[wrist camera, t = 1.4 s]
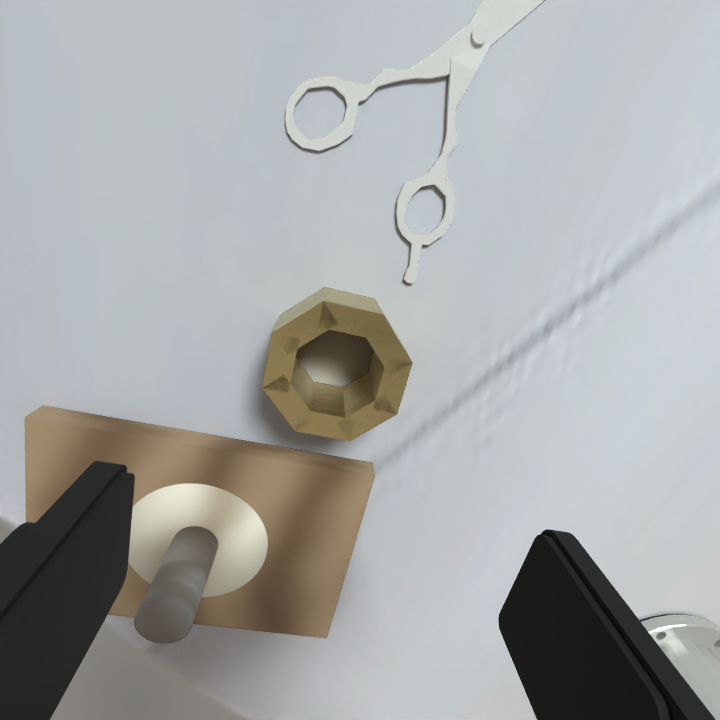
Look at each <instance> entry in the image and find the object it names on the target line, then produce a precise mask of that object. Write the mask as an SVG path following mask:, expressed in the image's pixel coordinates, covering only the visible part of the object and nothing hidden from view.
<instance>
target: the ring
mask: <svg viewBox="0 0 720 720" xmlns="http://www.w3.org/2000/svg"><path fill="white" fill-rule="evenodd" d="M327 330H333V331H338V332H342V333H347V334H352V335H356V336H361V337H365V338H366V339H367V340H368V342H369V343H370V345H371V347H372V348H373V350H374V354H373V358H372V362H371V365H370V369H369V372H368V373H367V374H365V375H363V376H362V377H360V378H358V379H356V380H355V381H353V382H351V383H350V384H348V385H346V386H345V387H338V386H333V385H328V384H323V383H318V382H313V380H312V379H311V377H310V376H309V375H308V373H307V372H306V370H305V369H304V368H303V366H302V365H301V363H300V362H299V361H298V359H297V358H296V357H297V352H298V348H300V347H301V346H303V345H305V344H306V343H308V342H309V341H311V340H313V339H314V338H316V337H318V336H319V335H321V334H323V333H324V332H326V331H327ZM411 366H412V361H411V359H410V357H409V356H408V354H407V352H406V350H405V349H404V347H403V345H402V343H401V342H400V340H399V338H398V337H397V335H396V333H395V332H394V330H393V328H392V327H391V325H390V323H389V322H388V320H387V318H386V317H385V315H384V313H383V312H382V310H381V308H380V307H379V305H378V303H377V302H376V300H375V299H374V298H370V297H365V296H361V295H357V294H352V293H348V292H344V291H339V290H335V289H331V288H327V287H324V288H322V289H321V290H319V291H318V292H316V293H314V294H313V295H311V296H310V297H308V298H306V299H305V300H303V301H302V302H300V303H299V304H297V305H295V306H294V307H292V308H291V309H289V310H287V311H286V312H284V313H283V314H281V316H280V318H279V320H278V322H277V324H276V326H275V328H274V330H273V332H272V336H271V341H270V346H269V352H268V357H267V363H266V368H265V374H264V379H263V385H262V389H263V390H264V392H265V393H266V394H267V395H268V397H269V398H270V399H271V401H272V402H273V403H274V405H275V406H276V407H277V409H278V410H279V411H280V412H281V414H282V415H283V416H284V418H285V419H286V420H287V422H288V423H289V424H290V425H291V427H292V428H293V429H294V431H295V432H300V433H306V434H312V435H317V436H323V437H328V438H334V439H339V440H345V441H351V440H353V439H355V438H356V437H358V436H360V435H362V434H363V433H365V432H367V431H369V430H370V429H372V428H374V427H376V426H377V425H379V424H381V423H383V422H384V421H386V420H388V419H390V418H391V417H393V416H395V415H397V413H398V410H399V406H400V403H401V400H402V396H403V393H404V390H405V386H406V383H407V380H408V376H409V373H410V370H411Z"/></svg>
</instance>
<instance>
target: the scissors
mask: <svg viewBox="0 0 720 720" xmlns="http://www.w3.org/2000/svg"><path fill="white" fill-rule="evenodd" d="M543 1H544V0H483V1H482V2H481V4H480V6H479V7H478V9H477V11H476V12H475V14H474V16H473V18H472V20H471V22H470V24H469V25H467V26H466V27H464V28H463V29H461V30H460V31H459V32H458V33H457V34H455V35H454V36H453V37H452V38H451V39H449V40H448V41H447V42H446V43H445V44H443V45H442V46H441V47H440V48H439V49H437V50H436V51H435V52H433V53H432V54H430V55H429V56H427V57H426V58H424V59H423V60H421V61H420V62H419V63H417V64H416V65H415V66H414V67H412V68H409V69H404V70H395V69H391V68H385V69H384V70H383V71H382V72H381V73H380V74H379V75H378V76H377V77H375V78H374V79H373V80H372V81H371V82H370V83H369V84H368V85H365V84H358V83H354V82H349V81H346V80H343V79H341V78H338V77H334V76H326V77H318V78H311V79H310V80H308V81H306V82H304V83H302V84H301V85H299V87H298V88H297V89H296V90H295V92H294V93H293V94H292V95H291V97H290V98H289V101H288V104H287V106H286V118H285V121H286V128H287V132H288V134H289V135H290V137H291V138H292V140H293V141H295V142H296V143H297V144H298V145H300V146H301V147H302V148H305V149H310V150H316V151H322V150H325V149H327V148H330V147H333V146H336V145H338V144H340V143H341V142H343V141H344V140H346V139H347V138H348V137H350V136H351V135H353V131H354V125H355V120H356V114H357V108H358V103H359V102H362V101H365V100H366V99H367V98H368V97H369V96H370V95H371V94H372V93H373V92H374V91H375V90H376V89H377V88H378V87H381V86H385V85H388V84H391V83H396V82H401V81H406V80H413V79H425V80H429V79H435V78H441V77H446V76H447V75H449V77H448V94H447V109H446V131H445V140H444V143H443V147H442V150H441V154H440V156H439V157H438V159H437V160H436V162H435V163H434V164H433V166H432V167H431V168H430V170H429V171H428V173H427V174H426V175H424V176H422V177H420V178H418V179H415V180H412V181H409V182H406V183H404V184H403V187H402V189H401V191H400V194H399V196H398V199H397V208H396V218H397V226H398V228H399V230H400V232H401V234H402V235H403V236H404V237H405V238H406V239H407V240H408V241H409V242H410V243H411V250H410V259H409V266H408V268H407V269H406V272H405V275H404V278H403V279H404V280H405V281H406V282H408V283H412V284H413V283H414V281H415V280H416V279H417V264H418V260H419V257H420V253H421V247H422V245H430V244H431V243H432V242H434V241H435V240H437V239H438V238H439V237H441V236H442V235H444V233H445V232H446V230H447V228H448V227H449V225H450V224H451V222H452V221H453V219H454V213H455V197H454V192H453V188H452V186H451V184H450V182H449V180H448V178H447V157H448V155H449V154H450V153H451V151H452V150H453V148H454V147H455V146H456V144H457V143H458V140H457V136H456V131H455V127H454V126H455V112H456V106H457V105H458V103H459V101H460V100H461V98H462V96H463V95H464V93H465V91H466V90H467V88H468V86H469V84H470V82H471V81H472V79H473V77H474V75H475V73H476V71H477V70H478V68H479V66H480V64H481V62H482V60H483V58H484V56H485V54H486V52H487V50H488V48H489V47H490V46H491V45H492V44H494V43H495V42H496V41H497V40H498V39H499V38H501V37H502V36H503V35H504V34H505V33H507V32H508V31H509V30H510V29H511V28H512V27H514V26H515V25H516V24H517V23H518V22H520V21H521V20H522V19H523V18H524V17H525V16H527V15H528V14H529V13H530V12H531V11H533V10H534V9H535V8H536V7H537V6H538V5H540V4H541V3H542V2H543ZM322 87H330V88H334V89H335V90H337V91H338V92H339V93H340V94H341V95H342V96H343V97H344V98H345V101H346V104H347V109H346V113H345V117H344V121H343V122H342V123H341V124H340V125H339V126H338V127H337V128H336V129H335V130H334V131H333V132H331V133H330V134H329V135H328V136H326V137H323V138H319V139H315V140H309V139H307V138H306V137H305V136H304V135H303V134H302V133H301V132H300V131H299V130H298V129H297V127H296V126H295V122H294V117H293V116H294V111H295V106H296V104H297V103H298V101H299V100H300V99H301V98H302V96H303V95H304V94H305V93H306V92H307V90H308V89H314V88H322ZM429 185H435V186H436V187H437V188H438V190H439V191H440V192H441V193H442V194H443V195H444V196H445V211H444V215H443V218H442V220H441V221H440V223H439V224H438V225H437V227H436V228H435V229H434V230H433V231H431V232H430V233H429V234H426V235H416V234H413V232H412V231H411V230H410V229H409V228H408V227H407V225H406V222H405V209H406V206H407V204H408V202H409V200H410V199H411V197H412V196H413V194H414V193H415V192H416V191H417V190H419V189H420V188H421V187H423V186H429Z"/></svg>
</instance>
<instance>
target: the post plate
mask: <svg viewBox="0 0 720 720" xmlns="http://www.w3.org/2000/svg"><path fill="white" fill-rule="evenodd" d="M94 461H104V462H110V463H117V464H123V465H126V467H127V472H128V473H133V474H134V475H135V484H134V497H133V509H132V521H131V533H130V546H129V558H128V570H127V575H126V578H125V581H124V584H123V587H122V589H121V591H120V592H119V594H118V596H117V598H116V600H115V602H114V603H113V605H112V607H111V609H110V611H109V613H108V615H117V616H127V617H135V619H134V625H135V628H136V630H137V632H138V633H139V634H140V635H141V636H142V637H144V638H146V639H147V640H150V641H152V642H156V643H173V642H176V641H179V640H181V639H183V638H184V637H185V636H186V635H187V634H188V633H189V631H190V629H191V626H192V624H200V625H209V626H218V627H228V628H237V629H246V630H255V631H264V632H274V633H283V634H292V635H301V636H310V637H320V638H327V636H328V632H329V629H330V626H331V622H332V619H333V616H334V612H335V609H336V605H337V602H338V599H339V595H340V592H341V589H342V585H343V582H344V579H345V575H346V572H347V568H348V565H349V562H350V558H351V555H352V552H353V548H354V545H355V542H356V538H357V535H358V531H359V528H360V525H361V521H362V518H363V515H364V511H365V508H366V505H367V501H368V498H369V494H370V491H371V488H372V484H373V481H374V478H375V475H374V469H373V463H371V462H365V461H359V460H353V459H348V458H342V457H336V456H330V455H325V454H319V453H313V452H307V451H301V450H296V449H290V448H284V447H278V446H273V445H267V444H261V443H255V442H250V441H244V440H238V439H232V438H227V437H221V436H215V435H209V434H204V433H198V432H192V431H186V430H181V429H175V428H169V427H163V426H158V425H152V424H146V423H140V422H134V421H129V420H123V419H117V418H111V417H106V416H100V415H94V414H88V413H83V412H77V411H71V410H65V409H60V408H54V407H48V406H41V407H40V408H38V409H37V410H35V411H34V412H32V413H31V414H29V415H28V416H26V417H25V476H26V522H32V523H36V522H37V521H38V520H39V519H40V518H41V517H42V516H43V514H44V513H45V512H46V511H47V510H48V509H49V508H50V507H51V506H52V505H53V504H54V503H55V502H56V501H57V500H58V499H59V498H60V496H61V495H62V494H63V493H64V492H65V491H66V490H67V489H68V488H69V487H70V486H71V485H72V484H73V483H74V482H75V481H76V480H77V478H78V477H79V476H80V475H81V474H82V473H83V472H84V471H85V470H86V469H87V468H88V467H89V466H90V465H91V464H92V463H93V462H94Z"/></svg>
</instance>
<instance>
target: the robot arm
mask: <svg viewBox="0 0 720 720" xmlns="http://www.w3.org/2000/svg"><path fill="white" fill-rule="evenodd" d="M134 484H135V475H134V474H133V473H128V472H127V467H126V465H123V464H117V463H110V462H104V461H94V462H93V463H92V464H91V465H90V466H89V467H88V468H87V469H86V470H85V471H84V472H83V473H82V474H81V475H80V476H79V477H78V478H77V480H76V481H75V482H74V483H73V484H72V485H71V486H70V487H69V488H68V489H67V490H66V491H65V492H64V493H63V494H62V495H61V496H60V498H59V499H58V500H57V501H56V502H55V503H54V504H53V505H52V506H51V507H50V508H49V509H48V510H47V511H46V512H45V513H44V514H43V516H42V517H41V518H40V519H39V520H38V521H37V522H36V523H32V522H26V523H24V524H22V525H20V526H19V527H18V528H16V529H15V530H14V531H13V532H12V533H11V534H10V535H9V536H8V537H7V538H6V539H5V540H4V541H3V542H2V543H1V544H0V720H50V718H51V717H52V714H53V713H54V711H55V709H56V707H57V706H58V704H59V702H60V700H61V698H62V696H63V695H64V693H65V691H66V689H67V687H68V685H69V684H70V682H71V680H72V678H73V676H74V675H75V673H76V671H77V669H78V667H79V665H80V663H81V662H82V660H83V658H84V656H85V654H86V653H87V651H88V649H89V647H90V645H91V644H92V642H93V640H94V638H95V636H96V634H97V633H98V631H99V629H100V627H101V625H102V624H103V622H104V620H105V618H106V616H107V614H108V613H109V611H110V609H111V607H112V605H113V603H114V602H115V600H116V598H117V596H118V594H119V592H120V591H121V589H122V587H123V584H124V581H125V578H126V575H127V570H128V558H129V546H130V533H131V521H132V509H133V497H134ZM499 628H500V631H501V634H502V636H503V639H504V641H505V644H506V646H507V648H508V651H509V653H510V656H511V658H512V660H513V663H514V665H515V668H516V670H517V672H518V675H519V677H520V680H521V682H522V684H523V687H524V689H525V692H526V694H527V696H528V699H529V701H530V704H531V706H532V708H533V711H534V713H535V716H536V718H537V720H720V629H719V628H718V627H717V626H716V625H715V624H713V623H711V622H710V621H708V620H706V619H703V618H700V617H697V616H690V615H666V616H660V617H654V618H651V619H648V620H645V621H641V622H640V621H639V619H638V618H637V617H636V615H635V614H634V613H633V612H632V610H631V609H630V608H629V606H628V605H627V604H626V603H625V601H624V600H623V599H622V597H621V596H620V595H619V593H618V592H617V591H616V590H615V588H614V587H613V586H612V584H611V583H610V582H609V580H608V579H607V578H606V577H605V575H604V574H603V573H602V571H601V570H600V569H599V567H598V566H597V565H596V564H595V562H594V561H593V560H592V558H591V557H590V556H589V554H588V553H587V552H586V551H585V549H584V548H583V547H582V545H581V544H580V543H579V541H578V540H577V539H576V538H575V537H574V536H573V535H572V534H571V533H568V532H562V531H555V530H545V531H543V532H542V533H541V535H538V536H536V538H535V539H534V542H533V544H532V546H531V548H530V550H529V552H528V554H527V556H526V559H525V561H524V563H523V565H522V567H521V569H520V571H519V573H518V575H517V578H516V580H515V582H514V584H513V586H512V588H511V590H510V592H509V595H508V597H507V599H506V601H505V603H504V605H503V607H502V609H501V612H500V614H499Z"/></svg>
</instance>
